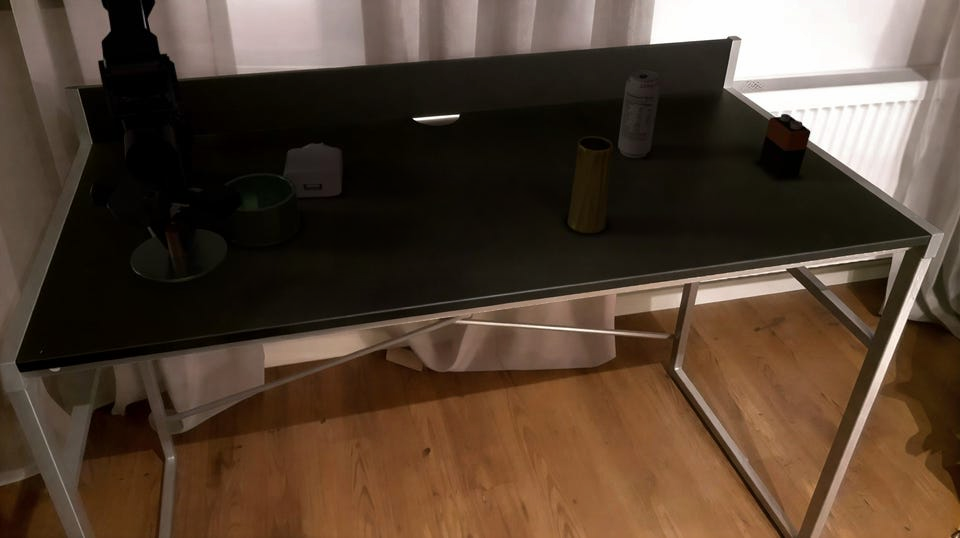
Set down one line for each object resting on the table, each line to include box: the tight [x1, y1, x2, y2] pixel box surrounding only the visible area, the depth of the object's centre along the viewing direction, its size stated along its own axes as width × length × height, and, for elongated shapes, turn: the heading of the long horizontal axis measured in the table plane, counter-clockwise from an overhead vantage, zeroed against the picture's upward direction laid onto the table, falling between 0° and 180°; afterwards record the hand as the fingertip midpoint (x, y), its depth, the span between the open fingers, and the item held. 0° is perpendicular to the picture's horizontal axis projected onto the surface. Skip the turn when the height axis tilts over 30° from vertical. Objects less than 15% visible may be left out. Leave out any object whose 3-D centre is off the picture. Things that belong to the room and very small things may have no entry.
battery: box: [759, 113, 811, 180], centre depth 141 cm, size 4×7×10 cm, turn 14°
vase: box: [566, 135, 614, 234], centre depth 123 cm, size 6×6×14 cm
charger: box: [282, 142, 344, 198], centre depth 138 cm, size 5×9×15 cm
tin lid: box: [130, 224, 229, 284], centre depth 108 cm, size 13×13×5 cm
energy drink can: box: [617, 69, 661, 159], centre depth 145 cm, size 6×6×15 cm
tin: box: [221, 172, 301, 249], centre depth 123 cm, size 12×12×6 cm
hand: (178, 249), depth 109 cm, fingers closed on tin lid, 2 cm apart
